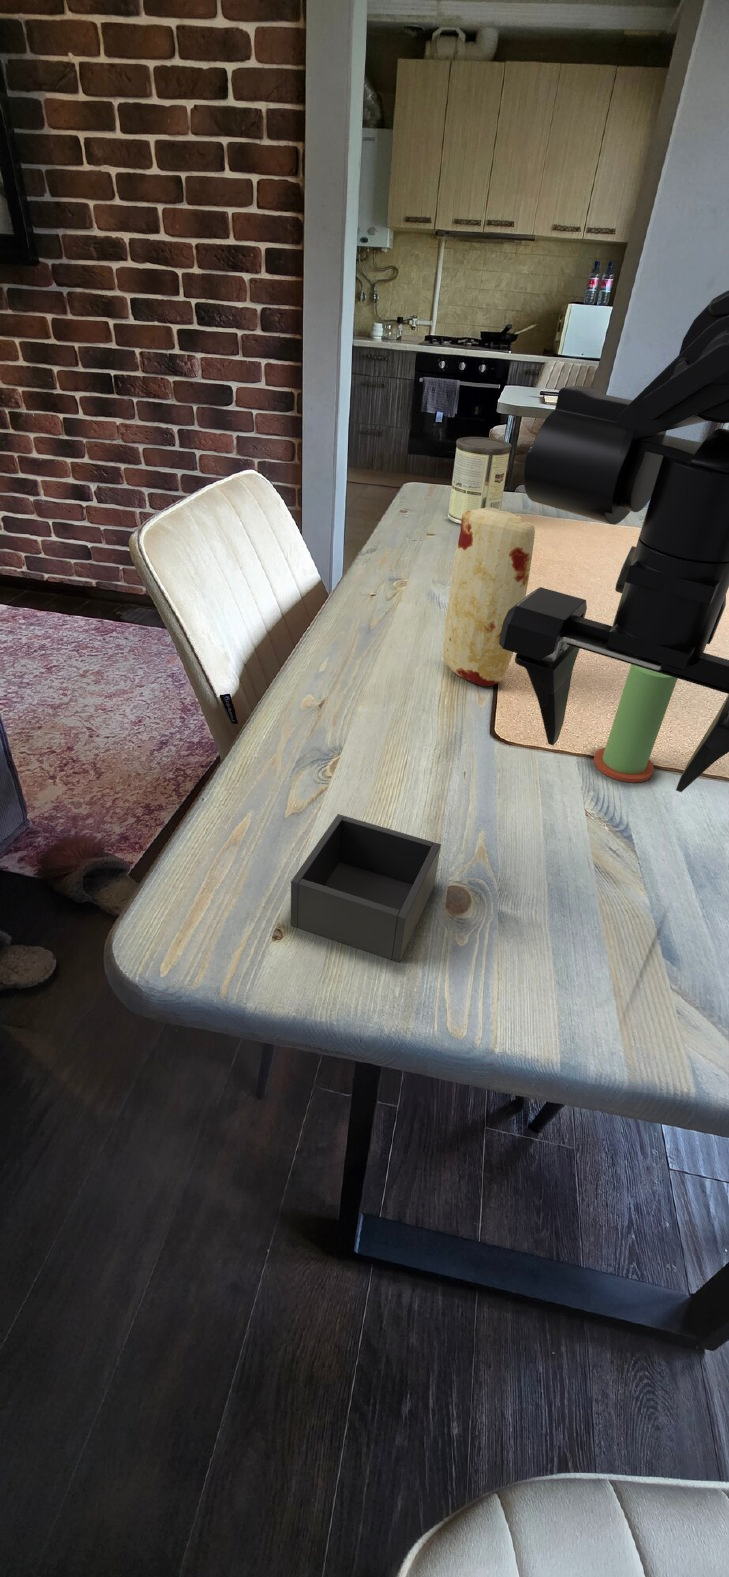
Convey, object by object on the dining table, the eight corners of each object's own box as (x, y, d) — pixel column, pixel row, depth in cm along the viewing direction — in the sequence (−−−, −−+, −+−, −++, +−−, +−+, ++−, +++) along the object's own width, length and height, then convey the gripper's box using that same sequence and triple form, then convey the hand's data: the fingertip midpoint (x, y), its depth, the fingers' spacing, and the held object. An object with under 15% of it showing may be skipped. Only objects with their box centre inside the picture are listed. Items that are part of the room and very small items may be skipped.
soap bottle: (651, 775, 75) (692, 664, 67) (608, 773, 74) (644, 660, 67) (638, 751, 78) (675, 643, 71) (597, 749, 78) (630, 640, 71)
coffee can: (455, 508, 151) (465, 434, 143) (504, 517, 149) (517, 441, 140) (440, 521, 144) (449, 442, 135) (491, 530, 141) (504, 451, 133)
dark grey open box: (433, 888, 60) (441, 843, 57) (399, 965, 53) (405, 918, 50) (335, 858, 62) (337, 813, 59) (290, 927, 55) (290, 881, 53)
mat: (658, 762, 78) (660, 758, 77) (644, 789, 73) (645, 785, 73) (603, 744, 80) (604, 740, 80) (586, 769, 76) (587, 765, 75)
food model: (426, 670, 91) (447, 503, 80) (459, 655, 96) (484, 494, 84) (490, 700, 86) (523, 527, 74) (522, 682, 90) (558, 516, 79)
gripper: (871, 550, 45) (768, 760, 54) (579, 486, 52) (532, 681, 61) (863, 605, 37) (744, 839, 47) (520, 521, 44) (476, 738, 54)
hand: (614, 764), depth 52 cm, fingers open, 9 cm apart
